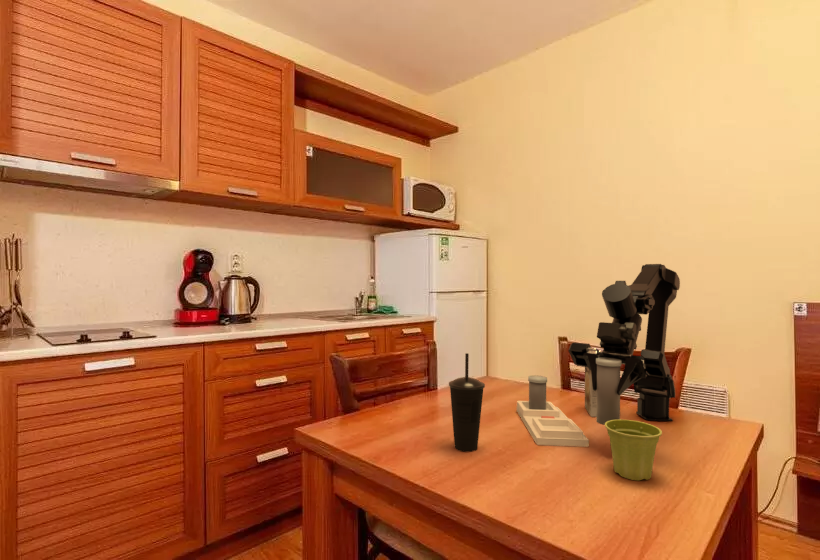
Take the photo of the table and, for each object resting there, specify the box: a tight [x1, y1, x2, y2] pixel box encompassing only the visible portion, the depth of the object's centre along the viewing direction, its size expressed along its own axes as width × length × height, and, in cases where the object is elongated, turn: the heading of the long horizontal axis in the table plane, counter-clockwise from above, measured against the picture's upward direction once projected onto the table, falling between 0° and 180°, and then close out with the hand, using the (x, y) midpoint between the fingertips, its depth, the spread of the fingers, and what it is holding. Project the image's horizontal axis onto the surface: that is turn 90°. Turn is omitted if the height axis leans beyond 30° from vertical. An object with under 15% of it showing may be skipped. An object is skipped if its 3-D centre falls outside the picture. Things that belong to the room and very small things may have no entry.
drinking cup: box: [448, 352, 486, 453], centre depth 92 cm, size 8×8×20 cm
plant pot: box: [604, 418, 663, 482], centre depth 80 cm, size 9×9×9 cm
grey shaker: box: [595, 357, 622, 426], centre depth 89 cm, size 5×5×13 cm
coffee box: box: [584, 367, 597, 418], centre depth 119 cm, size 9×6×16 cm
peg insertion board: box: [516, 374, 590, 448], centre depth 106 cm, size 11×25×10 cm, turn 176°
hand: (605, 391), depth 88 cm, fingers closed on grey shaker, 4 cm apart
